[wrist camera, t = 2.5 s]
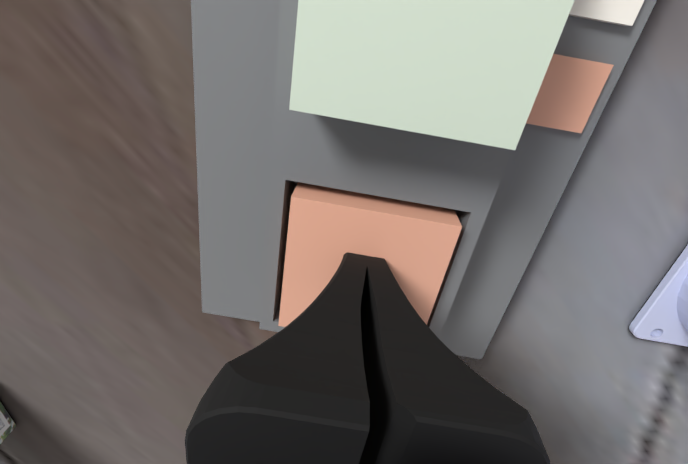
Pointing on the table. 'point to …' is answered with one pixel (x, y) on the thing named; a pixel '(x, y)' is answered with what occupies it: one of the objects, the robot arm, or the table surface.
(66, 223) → the table surface
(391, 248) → the terracotta key
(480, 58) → the sage key
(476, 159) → the stepped grey tray
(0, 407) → the syrup box
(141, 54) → the table surface
